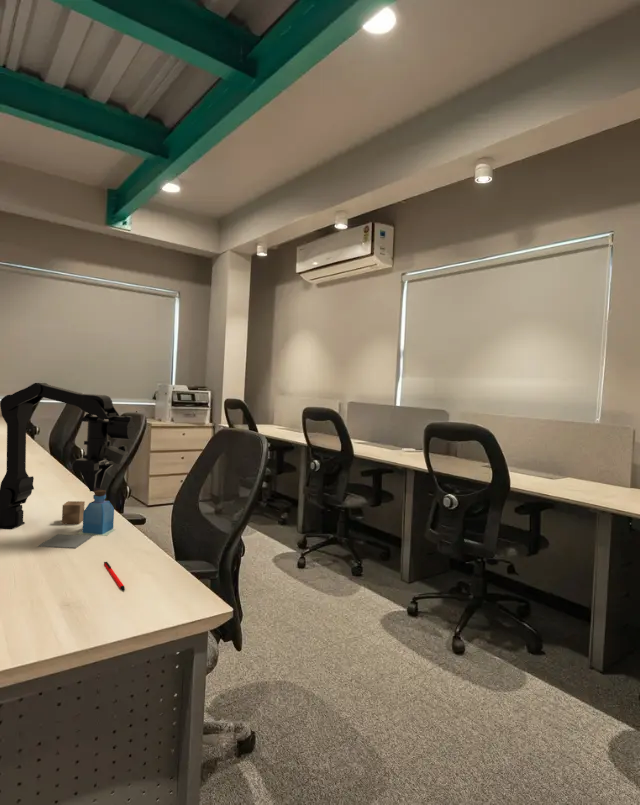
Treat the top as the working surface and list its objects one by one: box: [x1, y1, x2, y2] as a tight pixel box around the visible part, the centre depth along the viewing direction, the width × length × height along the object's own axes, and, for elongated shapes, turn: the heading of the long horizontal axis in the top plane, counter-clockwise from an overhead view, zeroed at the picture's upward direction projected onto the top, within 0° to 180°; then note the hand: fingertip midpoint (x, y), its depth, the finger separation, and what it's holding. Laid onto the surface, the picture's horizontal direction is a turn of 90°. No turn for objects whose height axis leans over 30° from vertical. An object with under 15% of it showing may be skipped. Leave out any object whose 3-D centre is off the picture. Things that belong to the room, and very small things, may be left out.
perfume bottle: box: [82, 489, 115, 534], centre depth 147 cm, size 6×6×12 cm
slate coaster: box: [37, 533, 93, 549], centre depth 136 cm, size 10×10×1 cm
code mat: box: [76, 528, 115, 537], centre depth 147 cm, size 9×9×1 cm
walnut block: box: [61, 500, 86, 525], centre depth 154 cm, size 5×5×6 cm
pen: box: [103, 561, 125, 591], centre depth 115 cm, size 1×19×1 cm, turn 35°
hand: (95, 489), depth 145 cm, fingers open, 4 cm apart
